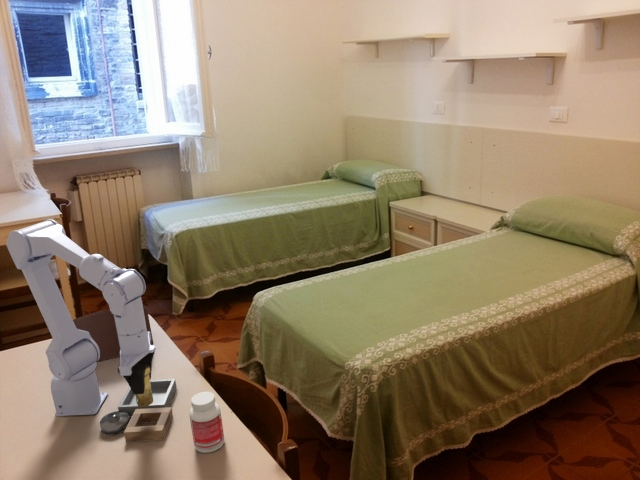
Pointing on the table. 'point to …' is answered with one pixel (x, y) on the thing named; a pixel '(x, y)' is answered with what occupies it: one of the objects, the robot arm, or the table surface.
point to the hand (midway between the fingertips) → (142, 386)
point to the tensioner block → (148, 432)
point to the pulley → (114, 422)
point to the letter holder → (105, 331)
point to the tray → (161, 396)
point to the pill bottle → (206, 422)
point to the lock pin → (145, 392)
